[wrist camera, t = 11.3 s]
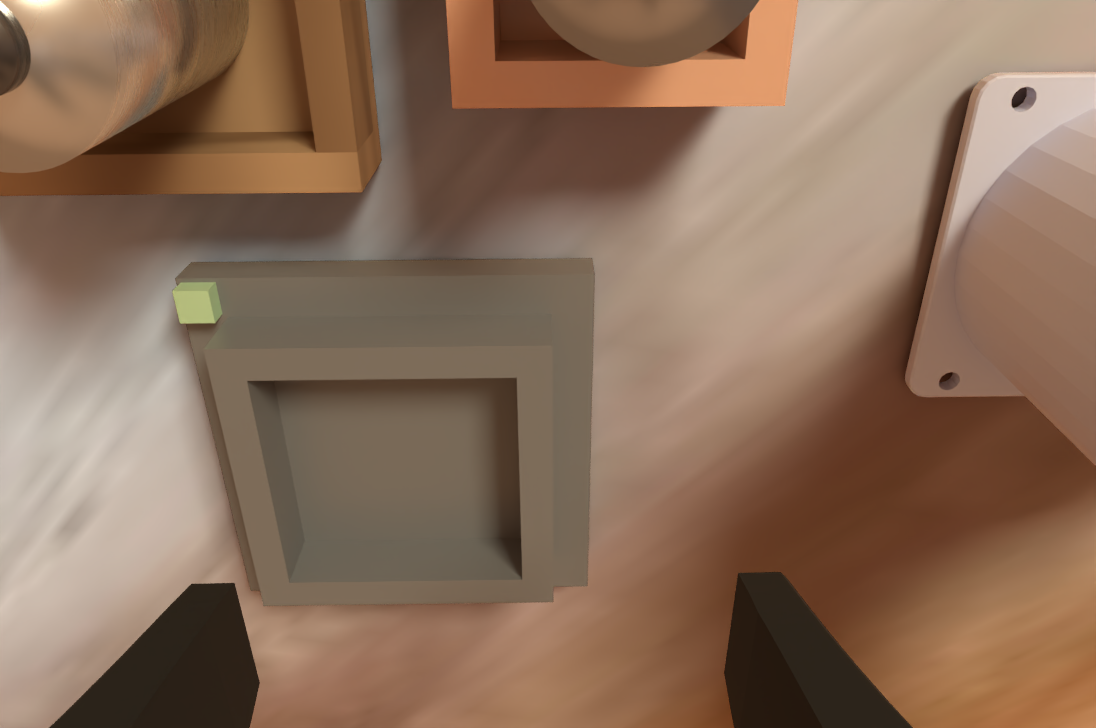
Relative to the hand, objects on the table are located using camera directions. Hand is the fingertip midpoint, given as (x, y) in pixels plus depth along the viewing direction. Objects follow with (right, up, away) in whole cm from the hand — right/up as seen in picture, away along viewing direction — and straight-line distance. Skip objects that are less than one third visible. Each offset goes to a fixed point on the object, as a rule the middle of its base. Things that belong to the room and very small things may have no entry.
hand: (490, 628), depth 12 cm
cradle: (-3, +2, +10) cm, 11 cm away
